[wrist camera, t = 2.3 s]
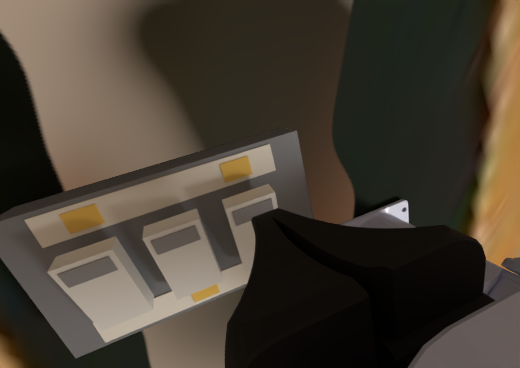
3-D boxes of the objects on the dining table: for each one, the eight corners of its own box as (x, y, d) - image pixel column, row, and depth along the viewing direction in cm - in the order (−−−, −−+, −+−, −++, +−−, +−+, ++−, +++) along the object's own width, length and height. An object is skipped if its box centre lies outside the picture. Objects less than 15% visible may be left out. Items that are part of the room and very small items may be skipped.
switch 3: (280, 244, 18) (287, 255, 17) (241, 260, 17) (245, 273, 16) (268, 183, 15) (275, 192, 14) (221, 199, 15) (225, 210, 14)
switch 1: (153, 295, 16) (153, 311, 15) (105, 314, 15) (101, 332, 14) (115, 236, 13) (111, 250, 12) (55, 256, 13) (46, 273, 12)
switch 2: (220, 268, 17) (223, 281, 16) (176, 286, 16) (177, 301, 15) (196, 208, 14) (199, 219, 13) (143, 226, 14) (142, 239, 13)
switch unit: (303, 236, 22) (321, 256, 19) (91, 321, 19) (74, 361, 16) (280, 127, 19) (298, 130, 16) (15, 206, 15) (-25, 229, 12)
